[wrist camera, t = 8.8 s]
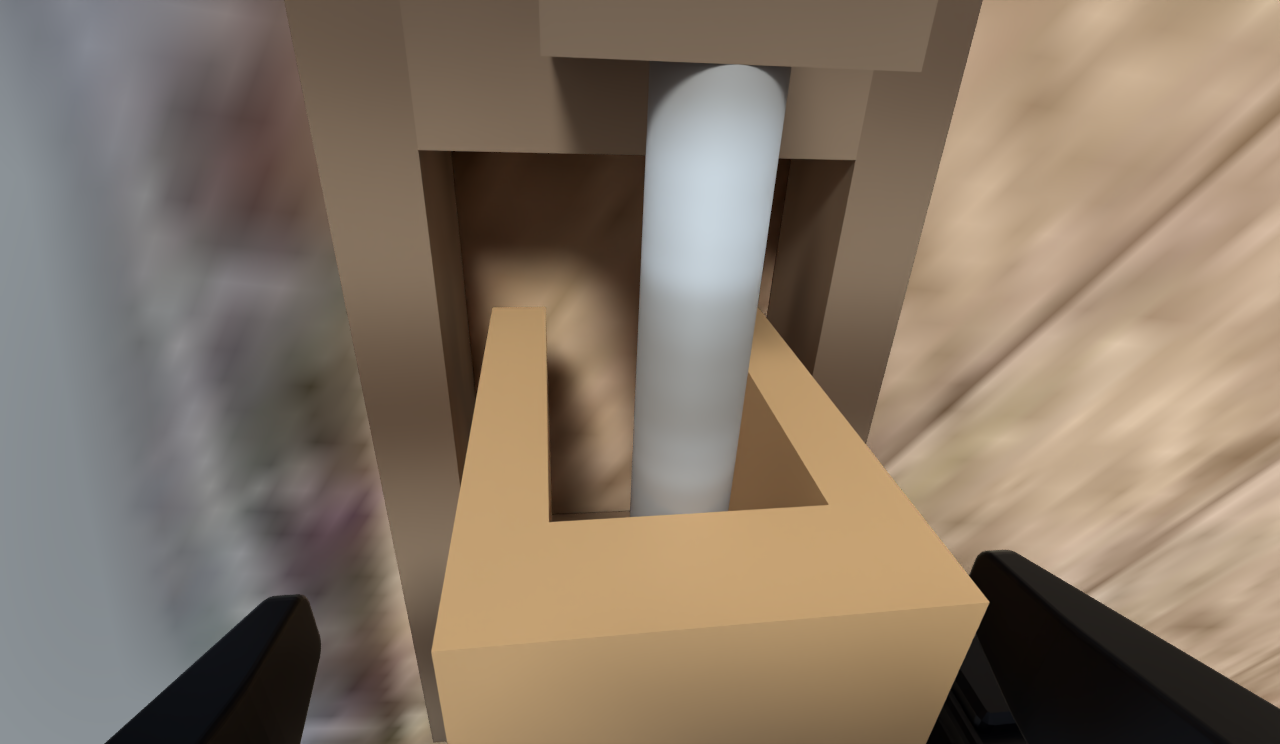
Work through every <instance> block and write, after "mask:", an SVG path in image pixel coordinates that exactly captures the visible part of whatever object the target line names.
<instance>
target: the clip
mask: <svg viewBox="0 0 1280 744" xmlns="http://www.w3.org/2000/svg"><path fill="white" fill-rule="evenodd" d="M989 603H990V602H989V601H988V600H987V598H986V597H985V596H984V595H983V593H982V592H981V591H980V589H979V588H978V587H977V586H976V584H975V583H974V582H973V580H972V579H971V578H970V577H969V575H968V574H967V573H966V572H965V570H964V569H963V568H962V566H961V565H960V564H959V563H958V561H957V560H956V559H955V558H954V556H953V555H952V554H951V552H950V551H949V550H948V549H947V547H946V546H945V545H944V544H943V542H942V541H941V540H940V538H939V537H938V536H937V535H936V533H935V532H934V531H933V530H932V528H931V527H930V526H929V524H928V523H927V522H926V521H925V519H924V518H923V517H922V515H921V514H920V513H919V512H918V510H917V509H916V508H915V507H914V505H913V504H912V503H911V501H910V500H909V499H908V498H907V496H906V495H905V494H904V493H903V491H902V490H901V489H900V487H899V486H898V485H897V484H896V482H895V481H894V480H893V479H892V477H891V476H890V475H889V473H888V472H887V471H886V470H885V468H884V467H883V466H882V465H881V463H880V462H879V461H878V459H877V458H876V457H875V456H874V454H873V453H872V452H871V450H870V449H869V448H868V447H867V445H866V444H865V443H864V442H863V440H862V439H861V438H860V436H859V435H858V434H857V433H856V431H855V430H854V429H853V428H852V426H851V425H850V424H849V422H848V421H847V420H846V419H845V417H844V416H843V415H842V414H841V412H840V411H839V410H838V408H837V407H836V406H835V405H834V403H833V402H832V401H831V400H830V398H829V397H828V396H827V394H826V393H825V392H824V391H823V389H822V388H821V387H820V385H819V384H818V383H817V382H816V380H815V379H814V378H813V377H812V375H811V374H810V373H809V371H808V370H807V369H806V368H805V366H804V365H803V364H802V363H801V361H800V360H799V359H798V357H797V356H796V355H795V354H794V352H793V351H792V350H791V349H790V347H789V346H788V345H787V343H786V342H785V341H784V340H783V338H782V337H781V336H780V335H779V333H778V332H777V331H776V329H775V328H774V327H773V326H772V324H771V323H770V322H769V320H768V319H767V318H766V317H765V315H764V314H763V313H762V312H761V310H760V309H759V308H758V306H757V313H756V320H755V327H754V334H753V341H752V348H751V355H750V362H749V369H748V376H747V383H746V390H745V397H744V404H743V411H742V418H741V425H740V432H739V439H738V446H737V453H736V460H735V467H734V474H733V481H732V488H731V495H730V502H729V509H728V511H723V512H707V513H694V514H674V515H658V516H642V517H626V518H609V519H593V520H577V521H560V522H552V511H551V466H550V433H549V401H548V368H547V335H546V307H501V308H492V313H491V318H490V324H489V330H488V335H487V341H486V347H485V352H484V358H483V363H482V369H481V375H480V380H479V386H478V392H477V397H476V403H475V408H474V414H473V420H472V425H471V431H470V437H469V442H468V448H467V453H466V459H465V465H464V470H463V476H462V482H461V487H460V493H459V498H458V504H457V510H456V515H455V521H454V527H453V532H452V538H451V543H450V549H449V555H448V560H447V566H446V572H445V577H444V583H443V588H442V594H441V600H440V605H439V611H438V617H437V622H436V628H435V633H434V639H433V645H432V650H431V653H432V659H433V665H434V670H435V676H436V682H437V687H438V693H439V699H440V704H441V710H442V716H443V721H444V727H445V733H446V738H447V744H926V742H927V740H928V738H929V736H930V734H931V731H932V729H933V727H934V725H935V722H936V720H937V718H938V716H939V714H940V711H941V709H942V707H943V705H944V702H945V700H946V698H947V696H948V694H949V691H950V689H951V687H952V685H953V683H954V680H955V678H956V676H957V674H958V671H959V669H960V667H961V665H962V663H963V660H964V658H965V656H966V654H967V651H968V649H969V647H970V645H971V643H972V640H973V638H974V636H975V634H976V631H977V629H978V627H979V625H980V623H981V620H982V618H983V616H984V614H985V612H986V609H987V607H988V605H989Z"/></svg>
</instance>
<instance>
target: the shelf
mask: <svg viewBox="0 0 1280 744" xmlns="http://www.w3.org/2000/svg"><path fill="white" fill-rule="evenodd" d="M982 1H983V0H284V2H285V7H286V12H287V17H288V22H289V27H290V32H291V37H292V42H293V47H294V52H295V57H296V62H297V67H298V72H299V77H300V82H301V87H302V92H303V97H304V102H305V107H306V112H307V117H308V122H309V127H310V132H311V136H312V141H313V146H314V151H315V156H316V161H317V166H318V171H319V176H320V181H321V186H322V191H323V196H324V201H325V206H326V211H327V216H328V221H329V226H330V231H331V236H332V241H333V246H334V251H335V256H336V261H337V266H338V271H339V276H340V281H341V286H342V291H343V296H344V300H345V305H346V310H347V315H348V320H349V325H350V330H351V335H352V340H353V345H354V350H355V355H356V360H357V365H358V370H359V375H360V380H361V385H362V390H363V395H364V400H365V405H366V410H367V415H368V420H369V425H370V430H371V435H372V440H373V445H374V450H375V455H376V460H377V464H378V469H379V474H380V479H381V484H382V489H383V494H384V499H385V504H386V509H387V514H388V519H389V524H390V529H391V534H392V539H393V544H394V549H395V554H396V559H397V564H398V569H399V574H400V579H401V584H402V589H403V594H404V599H405V604H406V609H407V614H408V619H409V623H410V628H411V633H412V638H413V643H414V648H415V653H416V658H417V663H418V668H419V673H420V678H421V683H422V688H423V693H424V698H425V703H426V708H427V713H428V718H429V723H430V728H431V733H432V738H433V742H444V741H447V738H446V733H445V727H444V721H443V716H442V710H441V704H440V699H439V693H438V687H437V682H436V676H435V670H434V665H433V659H432V653H431V650H432V645H433V639H434V633H435V628H436V622H437V617H438V611H439V605H440V600H441V594H442V588H443V583H444V577H445V572H446V566H447V560H448V555H449V549H450V543H451V538H452V532H453V527H454V521H455V515H456V510H457V504H458V498H459V493H460V487H461V482H462V476H463V470H464V465H465V459H466V453H467V448H468V442H469V437H470V431H471V425H472V420H473V414H474V408H475V403H476V395H475V385H474V376H473V366H472V356H471V346H470V336H469V326H468V316H467V306H466V296H465V286H464V276H463V266H462V256H461V246H460V236H459V226H458V216H457V206H456V196H455V186H454V176H453V166H452V156H451V151H482V152H525V153H568V154H612V155H646V160H645V183H644V206H643V228H642V251H641V274H640V297H639V320H638V343H637V366H636V389H635V411H634V434H633V457H632V480H631V503H630V511H621V512H600V513H580V514H559V515H552V522H560V521H577V520H593V519H609V518H626V517H642V516H658V515H674V514H694V513H707V512H723V511H728V509H729V502H730V495H731V488H732V481H733V474H734V467H735V460H736V453H737V446H738V439H739V432H740V425H741V418H742V411H743V404H744V397H745V390H746V383H747V376H748V369H749V362H750V355H751V348H752V341H753V334H754V327H755V320H756V313H757V306H758V299H759V292H760V285H761V278H762V271H763V264H764V257H765V250H766V243H767V236H768V229H769V222H770V215H771V208H772V201H773V194H774V187H775V180H776V173H777V166H778V159H779V158H785V159H791V163H790V170H789V176H788V183H787V190H786V196H785V203H784V209H783V216H782V222H781V229H780V236H779V242H778V249H777V255H776V262H775V268H774V275H773V282H772V288H771V295H770V301H769V308H768V315H767V319H768V320H769V322H770V323H771V324H772V326H773V327H774V328H775V329H776V331H777V332H778V333H779V335H780V336H781V337H782V338H783V340H784V341H785V342H786V343H787V345H788V346H789V347H790V349H791V350H792V351H793V352H794V354H795V355H796V356H797V357H798V359H799V360H800V361H801V363H802V364H803V365H804V366H805V368H806V369H807V370H808V371H809V373H810V374H811V375H812V377H813V378H814V379H815V380H816V382H817V383H818V384H819V385H820V387H821V388H822V389H823V391H824V392H825V393H826V394H827V396H828V397H829V398H830V400H831V401H832V402H833V403H834V405H835V406H836V407H837V408H838V410H839V411H840V412H841V414H842V415H843V416H844V417H845V419H846V420H847V421H848V422H849V424H850V425H851V426H852V428H853V429H854V430H855V431H856V433H857V434H858V435H859V436H860V438H861V439H862V440H863V442H864V443H865V444H866V442H867V438H868V434H869V430H870V426H871V423H872V419H873V415H874V411H875V407H876V404H877V400H878V396H879V392H880V388H881V385H882V381H883V377H884V373H885V369H886V366H887V362H888V358H889V354H890V350H891V347H892V343H893V339H894V335H895V331H896V328H897V324H898V320H899V316H900V312H901V309H902V305H903V301H904V297H905V293H906V290H907V286H908V282H909V278H910V274H911V271H912V267H913V263H914V259H915V255H916V252H917V248H918V244H919V240H920V236H921V233H922V229H923V225H924V221H925V217H926V214H927V210H928V206H929V202H930V198H931V195H932V191H933V187H934V183H935V179H936V176H937V172H938V168H939V164H940V160H941V157H942V153H943V149H944V145H945V141H946V138H947V134H948V130H949V126H950V122H951V119H952V115H953V111H954V107H955V104H956V100H957V96H958V92H959V88H960V85H961V81H962V77H963V73H964V69H965V66H966V62H967V58H968V54H969V50H970V47H971V43H972V39H973V35H974V31H975V28H976V24H977V20H978V16H979V12H980V9H981V5H982Z"/></svg>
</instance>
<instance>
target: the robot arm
mask: <svg viewBox="0 0 1280 744" xmlns="http://www.w3.org/2000/svg"><path fill="white" fill-rule="evenodd" d="M969 577H970V578H971V579H972V580H973V582H974V583H975V584H976V586H977V587H978V588H979V589H980V591H981V592H982V593H983V595H984V596H985V597H986V598H987V600H988V601H989V602H990V603H989V605H988V607H987V609H986V612H985V614H984V616H983V618H982V620H981V623H980V625H979V627H978V629H977V631H976V634H975V636H974V638H973V640H972V643H971V645H970V647H969V649H968V651H967V654H966V656H965V658H964V660H963V663H962V665H961V667H960V669H959V671H958V674H957V676H956V678H955V680H954V683H953V685H952V687H951V689H950V691H949V694H948V696H947V698H946V700H945V702H944V705H943V707H942V709H941V711H940V714H939V716H938V718H937V720H936V722H935V725H934V727H933V729H932V731H931V734H930V736H929V738H928V740H927V742H926V744H1280V709H1279V708H1278V707H1276V706H1274V705H1273V704H1271V703H1269V702H1268V701H1266V700H1264V699H1262V698H1261V697H1259V696H1257V695H1256V694H1254V693H1252V692H1251V691H1249V690H1247V689H1246V688H1244V687H1242V686H1240V685H1239V684H1237V683H1235V682H1234V681H1232V680H1230V679H1229V678H1227V677H1225V676H1224V675H1222V674H1220V673H1219V672H1217V671H1215V670H1213V669H1212V668H1210V667H1208V666H1207V665H1205V664H1203V663H1202V662H1200V661H1198V660H1197V659H1195V658H1193V657H1192V656H1190V655H1188V654H1186V653H1185V652H1183V651H1181V650H1180V649H1178V648H1176V647H1175V646H1173V645H1171V644H1170V643H1168V642H1166V641H1165V640H1163V639H1161V638H1159V637H1158V636H1156V635H1154V634H1153V633H1151V632H1149V631H1148V630H1146V629H1144V628H1143V627H1141V626H1139V625H1137V624H1136V623H1134V622H1132V621H1131V620H1129V619H1127V618H1126V617H1124V616H1122V615H1121V614H1119V613H1117V612H1116V611H1114V610H1112V609H1110V608H1109V607H1107V606H1105V605H1104V604H1102V603H1100V602H1099V601H1097V600H1095V599H1094V598H1092V597H1090V596H1089V595H1087V594H1085V593H1083V592H1082V591H1080V590H1078V589H1077V588H1075V587H1073V586H1072V585H1070V584H1068V583H1067V582H1065V581H1063V580H1062V579H1060V578H1058V577H1056V576H1055V575H1053V574H1051V573H1050V572H1048V571H1046V570H1045V569H1043V568H1041V567H1040V566H1038V565H1036V564H1035V563H1033V562H1031V561H1029V560H1028V559H1026V558H1024V557H1023V556H1021V555H1019V554H1018V553H1016V552H1014V551H1011V550H993V551H984V552H981V553H980V554H979V555H978V556H977V558H976V560H975V562H974V565H973V567H972V570H971V572H970V574H969ZM320 652H321V640H320V635H319V632H318V629H317V625H316V622H315V619H314V616H313V613H312V609H311V606H310V603H309V601H308V599H307V598H306V597H305V596H304V595H300V594H297V595H282V596H272V597H269V598H267V599H266V600H264V601H263V602H262V603H260V604H259V605H258V606H257V607H256V608H255V609H254V610H253V611H251V612H250V613H249V614H248V615H247V616H246V617H245V618H244V619H243V620H241V621H240V622H239V623H238V624H237V625H236V626H235V627H234V628H233V629H231V630H230V631H229V632H228V633H227V634H226V635H225V636H224V637H223V638H221V639H220V640H219V641H218V642H217V643H216V644H215V645H214V646H213V647H211V648H210V649H209V650H208V651H207V652H206V653H205V654H204V655H203V656H201V657H200V658H199V659H198V660H197V661H196V662H195V663H194V664H193V665H191V666H190V667H189V668H188V669H187V670H186V671H185V672H184V673H182V674H181V675H180V676H179V677H178V678H177V679H176V680H175V681H174V682H172V683H171V684H170V685H169V686H168V687H167V688H166V689H165V690H164V691H162V692H161V693H160V694H159V695H158V696H157V697H156V698H155V699H154V700H153V701H151V702H150V703H149V704H148V705H147V706H146V707H145V708H144V709H142V710H141V711H140V712H139V713H138V714H137V715H136V716H135V717H134V718H132V719H131V720H130V721H129V722H128V723H127V724H126V725H125V726H124V727H122V728H121V729H120V730H119V731H118V732H117V733H116V734H115V735H114V736H112V737H111V738H110V739H109V740H108V741H107V742H106V743H105V744H300V742H301V738H302V733H303V729H304V725H305V720H306V716H307V711H308V707H309V703H310V698H311V694H312V690H313V685H314V681H315V676H316V672H317V668H318V663H319V659H320Z"/></svg>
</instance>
